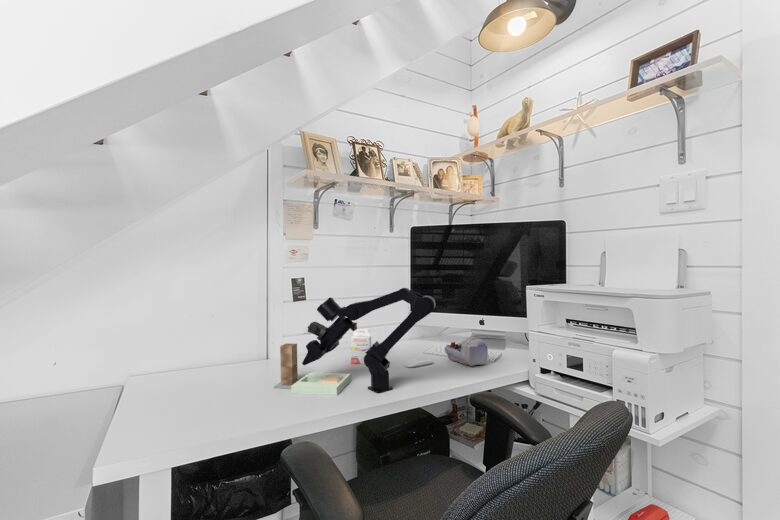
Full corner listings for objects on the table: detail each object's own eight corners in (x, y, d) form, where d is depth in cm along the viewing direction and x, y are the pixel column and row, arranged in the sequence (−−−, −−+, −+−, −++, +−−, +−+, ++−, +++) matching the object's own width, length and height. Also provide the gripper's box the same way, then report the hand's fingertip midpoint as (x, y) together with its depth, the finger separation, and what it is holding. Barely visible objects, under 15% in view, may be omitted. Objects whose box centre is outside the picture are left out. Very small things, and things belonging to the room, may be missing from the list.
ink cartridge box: (350, 364, 164) (350, 330, 164) (352, 361, 169) (352, 328, 169) (370, 364, 163) (369, 330, 163) (371, 361, 168) (371, 328, 168)
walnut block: (297, 381, 138) (296, 343, 139) (292, 385, 134) (291, 346, 134) (286, 381, 139) (285, 343, 139) (281, 385, 135) (280, 346, 135)
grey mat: (304, 382, 140) (304, 380, 140) (294, 389, 132) (294, 387, 132) (284, 381, 141) (284, 379, 141) (273, 388, 134) (273, 386, 134)
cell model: (469, 342, 152) (441, 336, 170) (470, 369, 151) (442, 360, 169) (493, 339, 158) (464, 332, 175) (495, 365, 157) (465, 356, 175)
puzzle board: (350, 380, 141) (350, 370, 141) (336, 395, 125) (336, 383, 125) (310, 378, 144) (309, 368, 144) (291, 393, 128) (291, 381, 128)
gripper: (330, 311, 144) (304, 339, 146) (311, 318, 125) (281, 350, 127) (350, 332, 142) (323, 360, 144) (334, 342, 124) (303, 374, 126)
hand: (308, 361), depth 135 cm, fingers open, 9 cm apart
